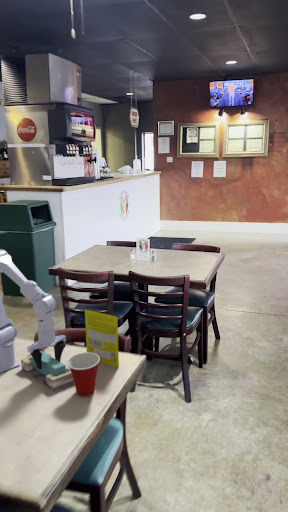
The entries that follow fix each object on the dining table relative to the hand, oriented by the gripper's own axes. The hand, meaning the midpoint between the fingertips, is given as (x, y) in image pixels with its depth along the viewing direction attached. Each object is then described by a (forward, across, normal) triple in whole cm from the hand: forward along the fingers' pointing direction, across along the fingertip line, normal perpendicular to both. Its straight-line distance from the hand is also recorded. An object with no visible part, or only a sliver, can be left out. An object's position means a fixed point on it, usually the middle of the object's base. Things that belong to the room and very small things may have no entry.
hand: (48, 365), depth 157 cm
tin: (+4, +12, +23) cm, 26 cm away
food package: (+4, +20, -6) cm, 21 cm away
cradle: (+4, 0, 0) cm, 4 cm away
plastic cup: (+4, +2, -19) cm, 20 cm away
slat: (+3, 0, 0) cm, 3 cm away
